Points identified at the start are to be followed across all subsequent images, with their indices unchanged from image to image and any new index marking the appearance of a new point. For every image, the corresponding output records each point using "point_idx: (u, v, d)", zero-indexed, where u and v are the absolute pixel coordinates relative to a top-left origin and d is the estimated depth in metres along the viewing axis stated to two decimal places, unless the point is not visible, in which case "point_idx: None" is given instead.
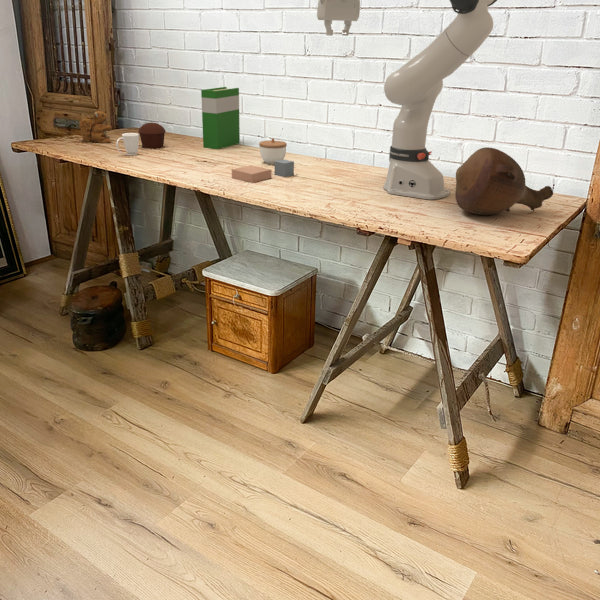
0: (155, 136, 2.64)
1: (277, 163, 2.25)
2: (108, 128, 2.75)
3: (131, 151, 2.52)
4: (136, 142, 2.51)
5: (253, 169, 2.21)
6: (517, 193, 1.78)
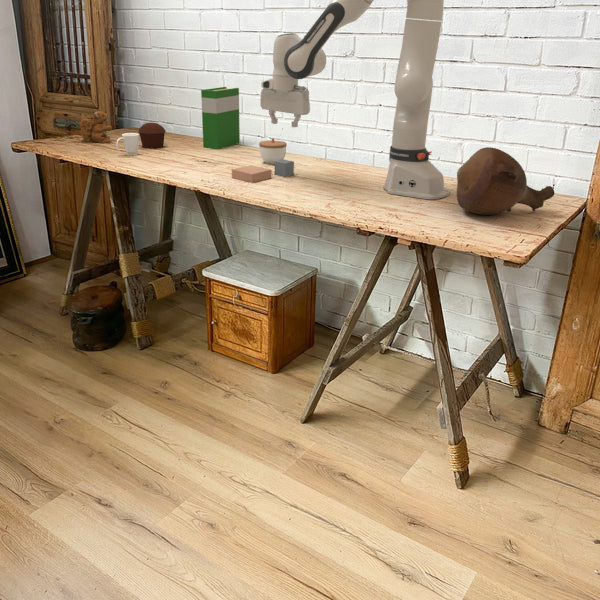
0: (155, 136, 2.64)
1: (277, 163, 2.25)
2: (108, 128, 2.75)
3: (131, 151, 2.52)
4: (136, 142, 2.51)
5: (253, 169, 2.21)
6: (518, 193, 1.78)
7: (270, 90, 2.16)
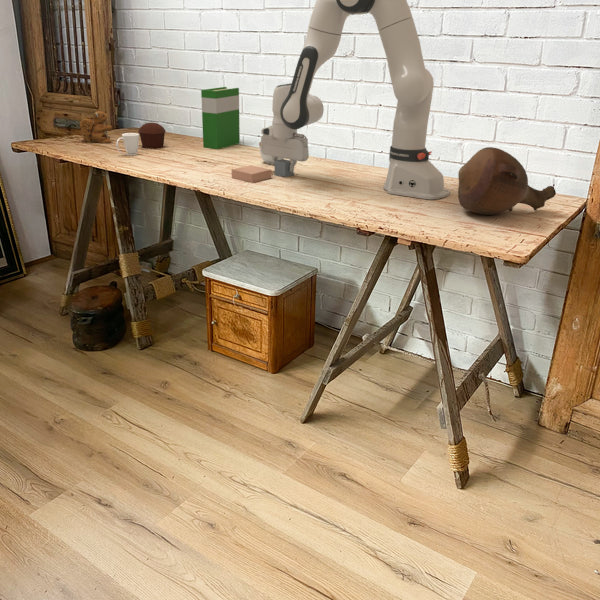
0: (155, 136, 2.64)
1: (277, 163, 2.25)
2: (109, 128, 2.75)
3: (131, 151, 2.52)
4: (136, 142, 2.51)
5: (253, 169, 2.21)
6: (520, 193, 1.78)
7: (270, 137, 2.23)
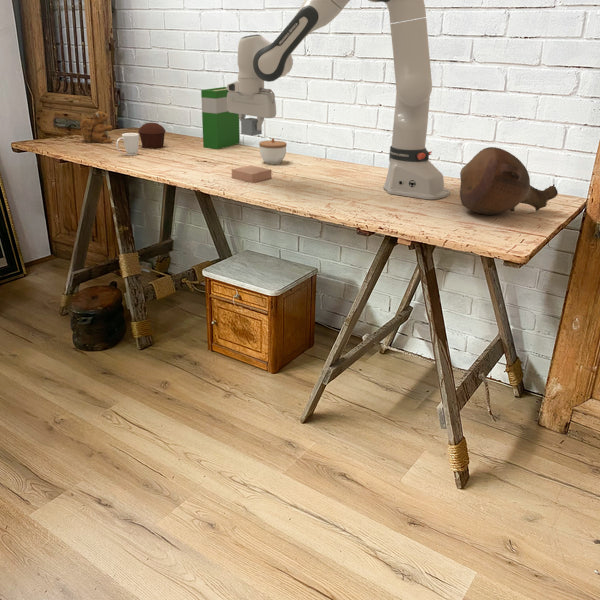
0: (155, 136, 2.64)
1: (243, 121, 2.13)
2: (109, 128, 2.75)
3: (131, 151, 2.52)
4: (136, 142, 2.51)
5: (253, 169, 2.21)
6: (521, 193, 1.79)
7: (236, 93, 2.11)
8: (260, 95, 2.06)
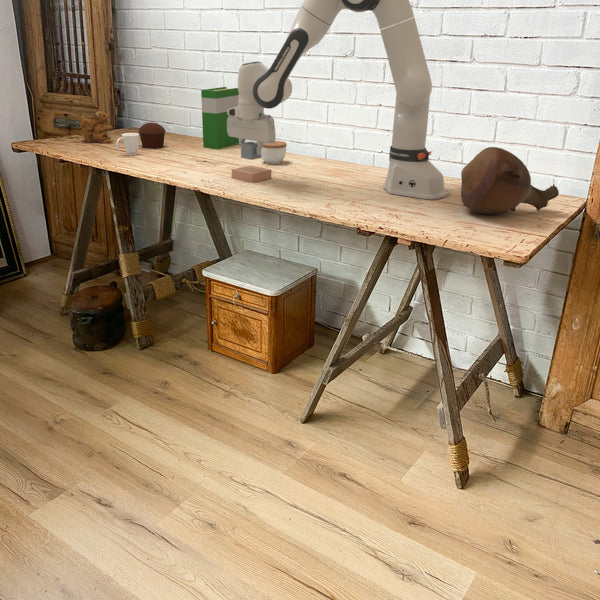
0: (155, 136, 2.64)
1: (243, 145, 2.16)
2: (109, 128, 2.75)
3: (131, 151, 2.52)
4: (136, 142, 2.51)
5: (253, 169, 2.21)
6: (522, 193, 1.79)
7: (236, 118, 2.14)
8: (260, 121, 2.09)
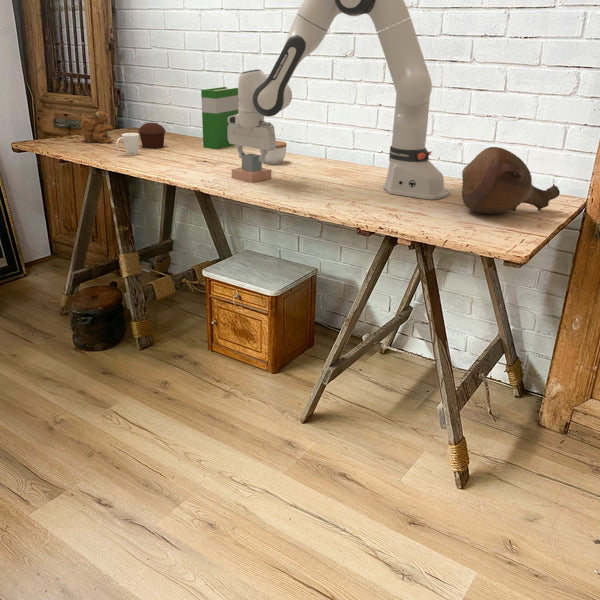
0: (155, 136, 2.64)
1: (244, 157, 2.18)
2: (110, 128, 2.75)
3: (131, 151, 2.52)
4: (136, 142, 2.51)
5: None
6: (523, 193, 1.79)
7: (236, 125, 2.15)
8: (260, 128, 2.10)
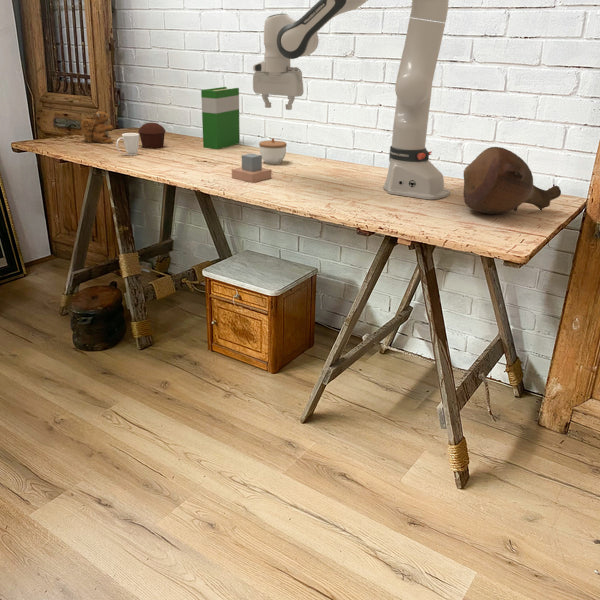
0: (155, 136, 2.64)
1: (244, 157, 2.18)
2: (110, 128, 2.75)
3: (131, 151, 2.52)
4: (136, 142, 2.51)
5: None
6: (525, 193, 1.79)
7: (262, 73, 2.12)
8: (287, 74, 2.07)
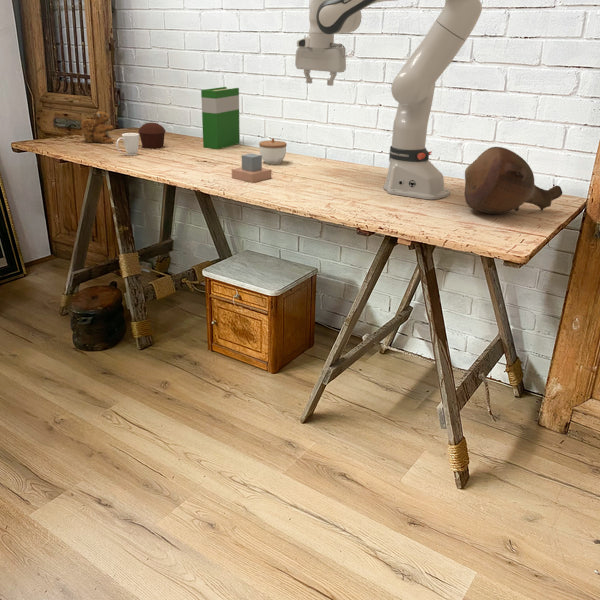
0: (155, 136, 2.64)
1: (244, 157, 2.18)
2: (110, 128, 2.75)
3: (131, 151, 2.52)
4: (136, 142, 2.51)
5: None
6: (526, 192, 1.79)
7: (306, 49, 2.17)
8: (331, 50, 2.12)
